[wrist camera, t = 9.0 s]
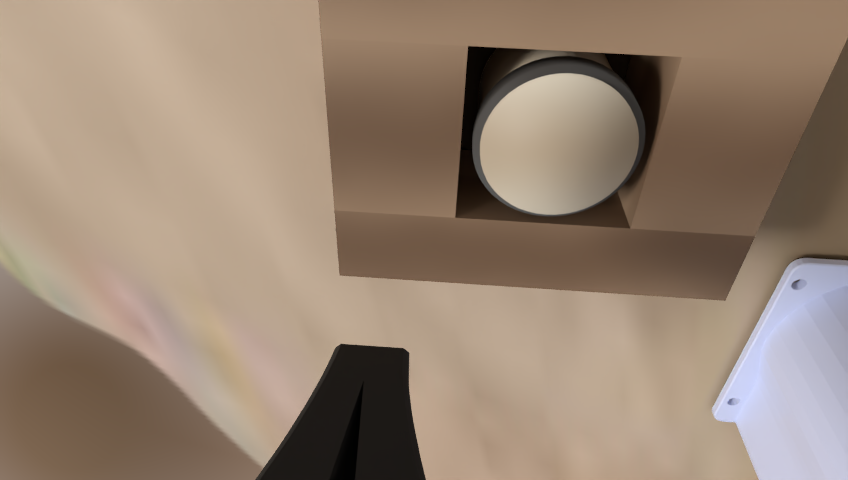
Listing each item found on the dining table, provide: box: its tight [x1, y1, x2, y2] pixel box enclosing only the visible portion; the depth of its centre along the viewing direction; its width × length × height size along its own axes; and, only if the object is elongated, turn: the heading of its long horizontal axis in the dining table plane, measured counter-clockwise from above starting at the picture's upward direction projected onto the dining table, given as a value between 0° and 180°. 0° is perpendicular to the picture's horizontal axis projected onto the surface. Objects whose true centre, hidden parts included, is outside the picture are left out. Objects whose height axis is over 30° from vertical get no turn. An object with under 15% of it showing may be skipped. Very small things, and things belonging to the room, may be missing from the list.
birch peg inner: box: [472, 48, 645, 216], centre depth 17 cm, size 4×4×4 cm
